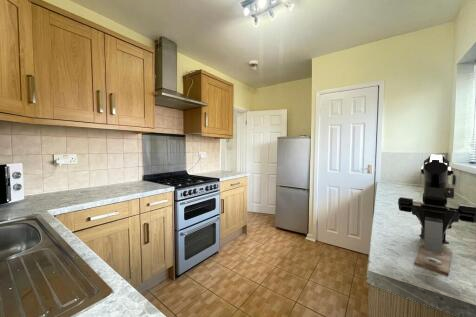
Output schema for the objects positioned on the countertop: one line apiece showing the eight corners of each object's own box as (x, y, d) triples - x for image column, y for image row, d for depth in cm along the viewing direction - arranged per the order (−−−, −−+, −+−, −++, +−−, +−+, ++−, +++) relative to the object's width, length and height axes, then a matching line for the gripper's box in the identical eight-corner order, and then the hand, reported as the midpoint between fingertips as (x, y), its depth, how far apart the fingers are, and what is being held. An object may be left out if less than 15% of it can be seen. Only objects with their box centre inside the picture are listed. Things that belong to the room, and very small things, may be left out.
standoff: (424, 245, 67) (425, 216, 66) (441, 249, 64) (442, 219, 63) (424, 250, 64) (424, 220, 63) (441, 254, 61) (442, 223, 60)
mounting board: (422, 246, 75) (422, 240, 75) (451, 254, 69) (452, 247, 69) (414, 264, 64) (414, 257, 64) (448, 275, 58) (448, 267, 58)
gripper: (399, 175, 72) (393, 211, 65) (479, 180, 59) (483, 227, 52) (401, 192, 78) (396, 228, 71) (474, 201, 65) (477, 245, 57)
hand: (433, 231), depth 63 cm, fingers closed on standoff, 4 cm apart
